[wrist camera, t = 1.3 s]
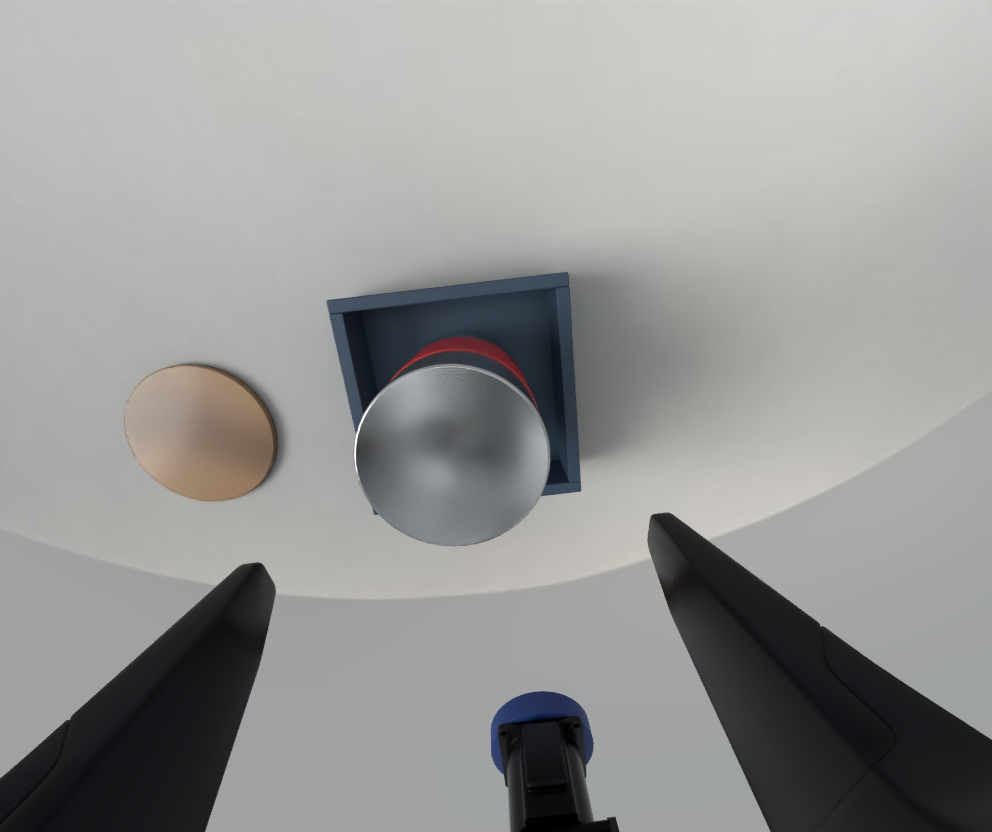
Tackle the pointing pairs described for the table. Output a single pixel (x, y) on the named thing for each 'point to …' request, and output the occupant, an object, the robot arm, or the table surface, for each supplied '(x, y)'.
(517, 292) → the crate
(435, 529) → the can
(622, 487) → the table surface
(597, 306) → the table surface
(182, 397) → the coaster
